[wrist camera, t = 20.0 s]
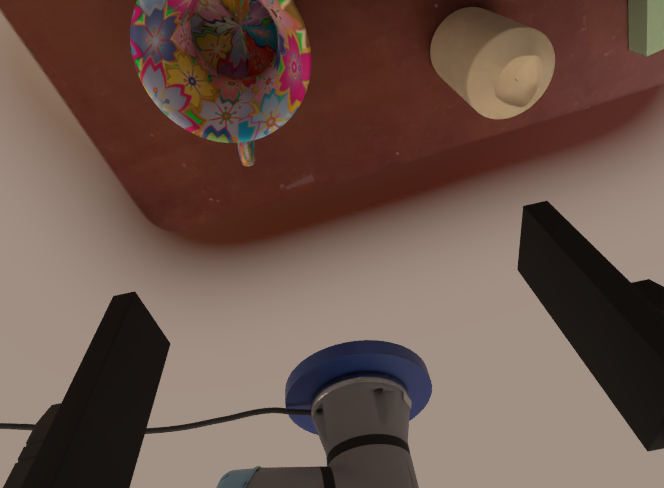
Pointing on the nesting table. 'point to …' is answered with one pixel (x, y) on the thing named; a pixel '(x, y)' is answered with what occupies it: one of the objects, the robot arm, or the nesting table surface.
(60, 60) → the nesting table surface
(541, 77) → the candle
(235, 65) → the mug
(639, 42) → the control block
